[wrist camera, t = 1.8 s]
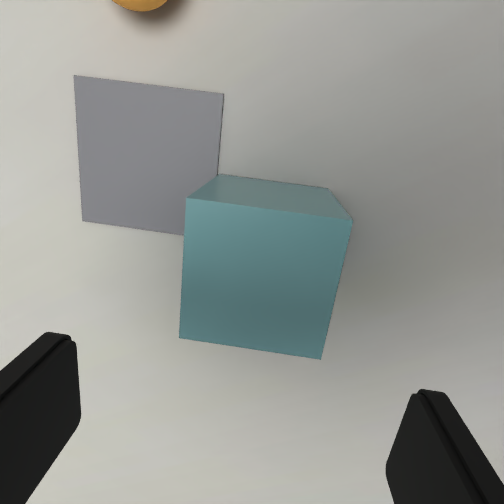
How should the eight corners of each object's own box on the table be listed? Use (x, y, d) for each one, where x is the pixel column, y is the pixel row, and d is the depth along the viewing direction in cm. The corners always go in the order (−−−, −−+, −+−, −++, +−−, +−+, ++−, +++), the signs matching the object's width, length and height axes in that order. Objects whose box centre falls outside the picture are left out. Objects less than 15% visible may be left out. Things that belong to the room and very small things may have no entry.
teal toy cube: (328, 188, 23) (353, 220, 15) (308, 286, 26) (320, 359, 18) (219, 174, 24) (186, 197, 15) (211, 272, 26) (179, 337, 18)
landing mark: (223, 93, 22) (223, 93, 22) (212, 238, 25) (211, 239, 25) (75, 75, 22) (73, 75, 22) (84, 220, 26) (82, 221, 26)
